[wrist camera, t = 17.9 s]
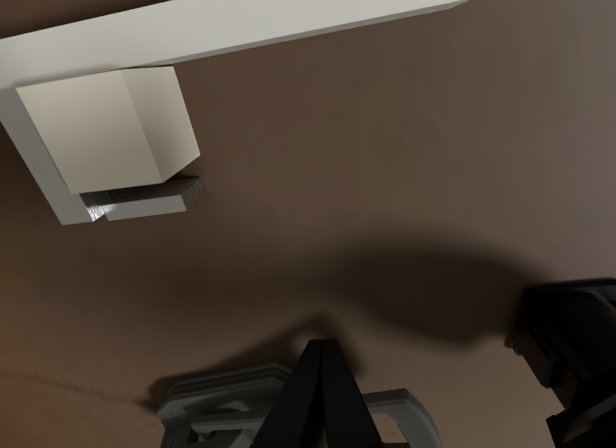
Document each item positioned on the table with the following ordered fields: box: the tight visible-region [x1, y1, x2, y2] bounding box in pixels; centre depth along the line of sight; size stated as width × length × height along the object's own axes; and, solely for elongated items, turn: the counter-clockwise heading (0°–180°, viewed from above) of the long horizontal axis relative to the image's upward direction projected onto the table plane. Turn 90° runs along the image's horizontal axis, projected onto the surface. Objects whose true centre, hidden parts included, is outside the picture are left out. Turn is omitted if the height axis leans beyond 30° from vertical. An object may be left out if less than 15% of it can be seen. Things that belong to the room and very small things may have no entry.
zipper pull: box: [157, 362, 442, 448], centre depth 27 cm, size 9×7×25 cm
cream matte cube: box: [15, 66, 200, 194], centre depth 17 cm, size 5×5×5 cm
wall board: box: [0, 0, 469, 92], centre depth 15 cm, size 22×2×4 cm, turn 99°
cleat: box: [0, 89, 205, 225], centre depth 18 cm, size 7×8×4 cm
